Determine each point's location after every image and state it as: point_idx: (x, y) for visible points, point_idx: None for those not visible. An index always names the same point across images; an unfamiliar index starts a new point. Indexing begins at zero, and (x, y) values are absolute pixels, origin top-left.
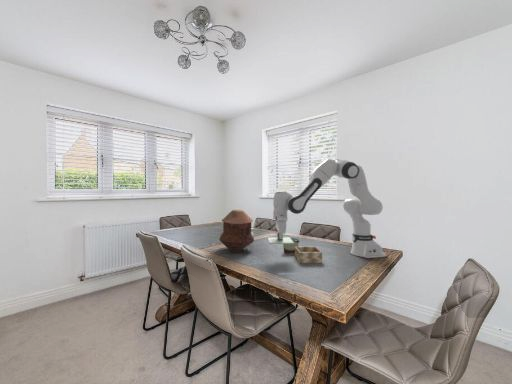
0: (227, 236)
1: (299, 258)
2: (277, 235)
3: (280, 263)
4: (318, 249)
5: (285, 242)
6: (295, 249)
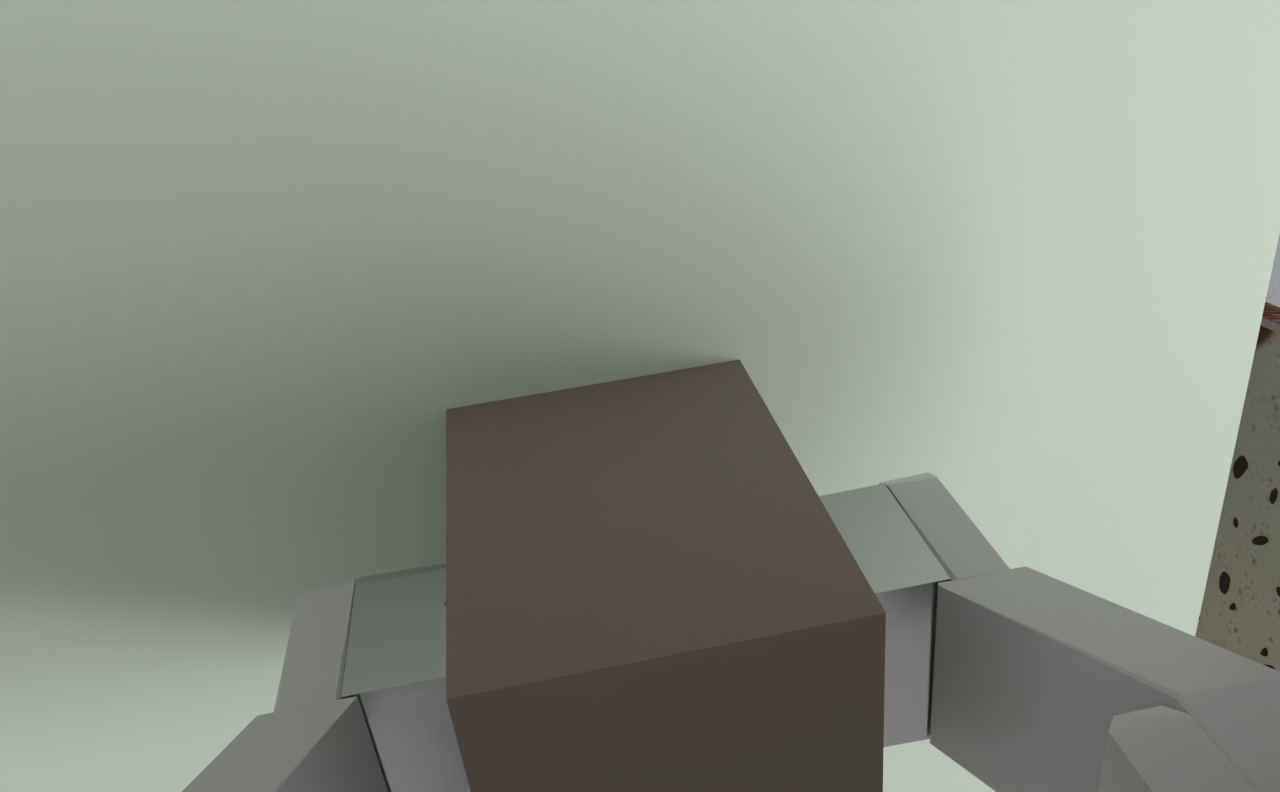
0: None
1: None
2: (777, 508)
3: None
4: None
5: (27, 787)
6: None
